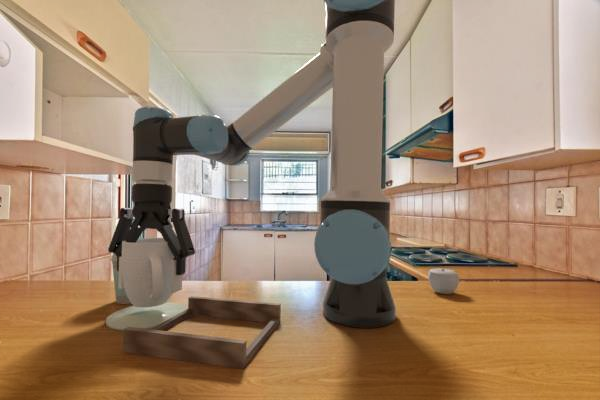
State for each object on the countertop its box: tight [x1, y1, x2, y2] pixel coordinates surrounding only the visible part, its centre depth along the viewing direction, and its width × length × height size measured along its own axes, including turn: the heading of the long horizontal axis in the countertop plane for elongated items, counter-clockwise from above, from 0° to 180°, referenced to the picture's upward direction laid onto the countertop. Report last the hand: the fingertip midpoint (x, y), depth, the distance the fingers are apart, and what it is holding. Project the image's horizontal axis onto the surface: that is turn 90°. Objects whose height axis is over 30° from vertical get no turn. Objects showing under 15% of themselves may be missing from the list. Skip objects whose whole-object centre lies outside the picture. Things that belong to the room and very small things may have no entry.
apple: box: [427, 267, 460, 295], centre depth 81 cm, size 8×8×7 cm
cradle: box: [122, 295, 282, 370], centre depth 52 cm, size 20×18×4 cm
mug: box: [121, 237, 174, 307], centre depth 60 cm, size 15×11×13 cm
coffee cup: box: [110, 253, 132, 305], centre depth 72 cm, size 8×8×12 cm
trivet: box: [105, 301, 188, 332], centre depth 61 cm, size 15×15×1 cm
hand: (150, 289), depth 61 cm, fingers closed on mug, 12 cm apart
